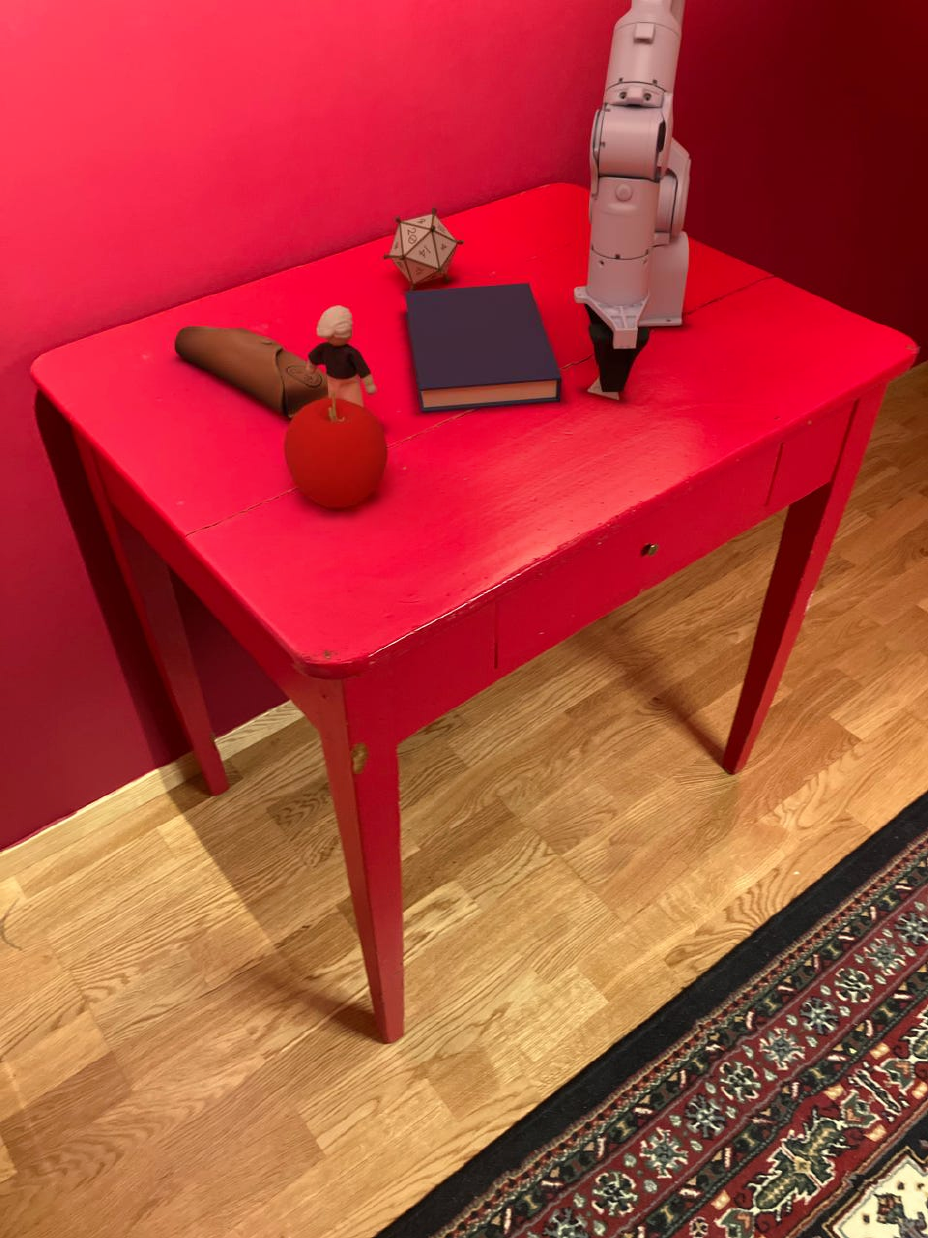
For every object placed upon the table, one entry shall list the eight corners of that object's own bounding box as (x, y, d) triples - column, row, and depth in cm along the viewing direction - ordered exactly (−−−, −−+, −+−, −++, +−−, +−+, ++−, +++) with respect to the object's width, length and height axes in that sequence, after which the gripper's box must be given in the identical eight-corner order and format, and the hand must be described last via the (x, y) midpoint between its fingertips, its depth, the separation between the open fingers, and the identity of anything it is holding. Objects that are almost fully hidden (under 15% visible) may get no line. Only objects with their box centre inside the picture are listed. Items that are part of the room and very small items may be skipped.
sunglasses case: (348, 383, 104) (316, 346, 98) (308, 439, 103) (273, 404, 98) (237, 326, 113) (202, 289, 107) (199, 377, 112) (162, 342, 107)
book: (528, 305, 116) (529, 282, 114) (560, 401, 102) (561, 377, 100) (405, 314, 115) (404, 291, 113) (421, 412, 101) (419, 388, 99)
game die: (439, 315, 122) (462, 272, 113) (370, 292, 121) (388, 246, 111) (453, 251, 125) (477, 204, 115) (387, 227, 123) (405, 177, 113)
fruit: (412, 490, 92) (405, 395, 85) (334, 537, 88) (321, 440, 81) (346, 449, 97) (335, 355, 90) (269, 491, 93) (251, 396, 86)
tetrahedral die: (627, 395, 104) (634, 366, 103) (618, 400, 102) (625, 370, 101) (596, 387, 106) (602, 358, 104) (586, 391, 103) (592, 362, 102)
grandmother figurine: (392, 423, 100) (382, 303, 91) (377, 445, 97) (365, 324, 88) (320, 410, 102) (304, 291, 93) (304, 431, 99) (285, 311, 90)
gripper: (570, 213, 98) (563, 340, 108) (585, 284, 88) (575, 417, 98) (643, 211, 98) (630, 338, 108) (667, 282, 88) (649, 416, 97)
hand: (609, 376), depth 103 cm, fingers open, 4 cm apart
